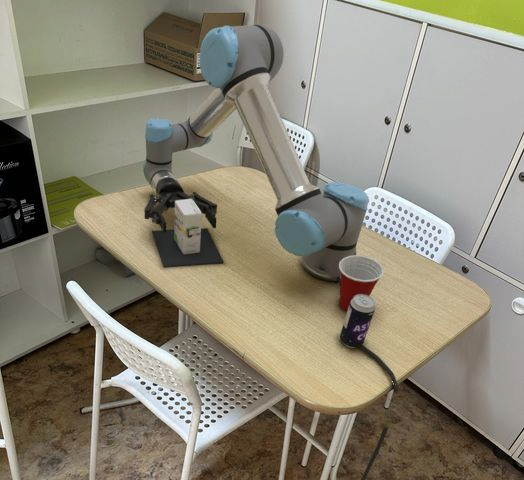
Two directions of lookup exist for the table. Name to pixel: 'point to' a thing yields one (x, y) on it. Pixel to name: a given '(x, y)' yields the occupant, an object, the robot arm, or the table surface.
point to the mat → (175, 257)
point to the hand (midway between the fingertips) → (190, 225)
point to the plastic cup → (358, 277)
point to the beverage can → (357, 320)
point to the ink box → (187, 226)
